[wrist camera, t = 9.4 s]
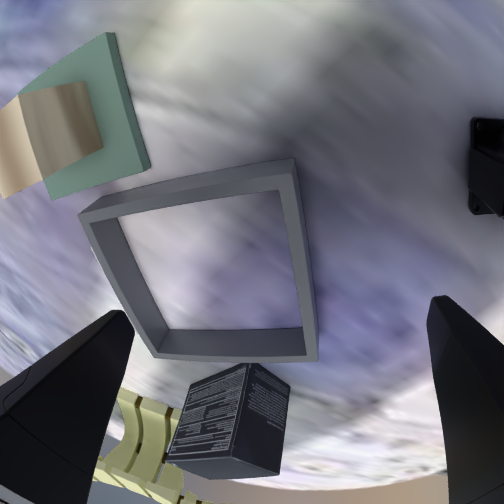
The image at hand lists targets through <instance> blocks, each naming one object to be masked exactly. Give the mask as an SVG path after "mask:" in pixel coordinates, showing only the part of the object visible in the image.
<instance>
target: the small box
mask: <svg viewBox="0 0 504 504" xmlns="http://www.w3.org/2000/svg"><path fill="white" fill-rule="evenodd" d="M289 393H290V386H289V385H287V384H286V383H284V382H283V381H281V380H280V379H279V378H277V377H276V376H274V375H273V374H271V373H270V372H269V371H267V370H266V369H264V368H263V367H261V366H260V365H259V364H257V363H242V364H239V365H237V366H235V367H233V368H231V369H228V370H226V371H224V372H221V373H219V374H217V375H214V376H212V377H209V378H207V379H205V380H202V381H200V382H197V383H195V384H192V385H190V387H189V391H188V394H187V397H186V400H185V404H184V407H183V409H182V413H181V416H180V419H179V422H178V424H177V427H176V430H175V433H174V436H173V439H172V442H171V445H170V448H169V451H168V454H167V457H166V460H165V462H167V463H169V464H171V465H174V466H176V467H178V468H181V469H183V470H186V471H188V472H191V473H193V474H196V475H199V476H201V477H204V478H207V479H210V480H211V479H243V478H257V477H268V476H277V475H280V466H281V459H282V451H283V443H284V435H285V428H286V419H287V411H288V402H289Z"/></svg>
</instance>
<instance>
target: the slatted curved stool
mask: <svg viewBox="0 0 504 504" xmlns="http://www.w3.org/2000/svg"><path fill="white" fill-rule="evenodd" d="M117 400H118V403H119V406H120V409H121V412H122V415H123V419H124V424H125V433H124V436H123V439H122V440H121V442H120V443H119V444H118V445H117V446H116V447H115V448H114V449H113V450H112V451H110V452H109V453H108V455H107V456H106V457H105V459H104V458H103V457H102V456H99V457H98V460H97V464H96V468H95V471H94V475H93V480H92V481H97V482H98V481H99V480H100V481H101V482H104V483H108V484H111V485H115V486H119V487H122V488H124V487H127V488H128V489H129V490H131V491H135V492H137V493H140V494H142V495H145V496H147V497H149V498H150V497H153V498H154V499H155V500H156V501H158V502H160V503H162V504H214V502H210V501H207V500H203V501H199V500H197V496H196V495H194V494H192V493H191V492H190V491H189V490H188V489H187V491H186V494H185V497H184V496H181V492H182V488H183V485H184V480H183V469H181V468H178V467H176V466H174V465H171V464H169V463H167V462H165V460H166V457H167V454H168V453H167V449H168V445H169V441H170V436H171V442H172V439H173V436H174V433H175V430H176V427H177V424H178V422H179V419H180V416H181V413H182V410H181V409H178V408H175V407H174V409H171V408H168V405H166V404H163V403H161V402H158V401H155V400H152V399H150V398H147V397H143V398H141V397H139V396H138V394H137V393H134V392H132V391H129V390H127V389H124V388H122V387H120V389H119V392H118V395H117ZM170 421H171V431H170ZM170 445H171V443H170ZM138 454H139V455H138ZM137 456H138V457H137ZM163 463H164V464H165V466H164V468H163V471H162V473H161V476H160V478H159V480H158V482H157V483H156V481H157V478H158V475H159V472H160V469H161V466H162V464H163ZM155 483H156V484H155ZM220 504H224V503H220Z"/></svg>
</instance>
